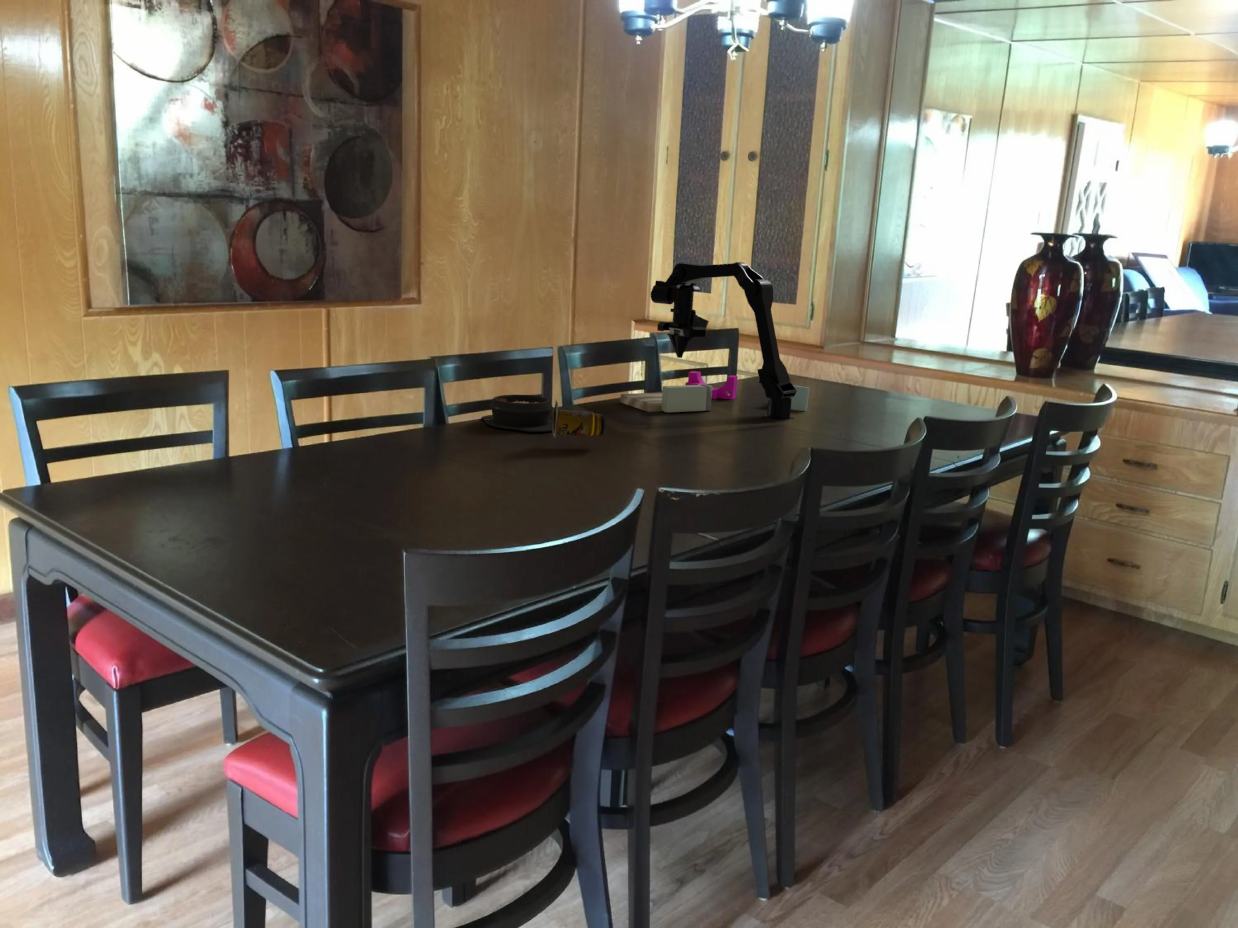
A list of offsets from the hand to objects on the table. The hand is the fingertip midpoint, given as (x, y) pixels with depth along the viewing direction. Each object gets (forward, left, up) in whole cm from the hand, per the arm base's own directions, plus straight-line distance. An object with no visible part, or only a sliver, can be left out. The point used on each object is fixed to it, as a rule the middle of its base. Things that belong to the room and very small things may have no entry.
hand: (679, 357), depth 295 cm
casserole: (-13, +58, -17) cm, 62 cm away
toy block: (+2, -14, -14) cm, 20 cm away
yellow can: (-39, +61, -9) cm, 73 cm away
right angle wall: (-18, -31, -14) cm, 38 cm away
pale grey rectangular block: (-18, +2, -13) cm, 22 cm away
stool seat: (-8, +10, -13) cm, 18 cm away
